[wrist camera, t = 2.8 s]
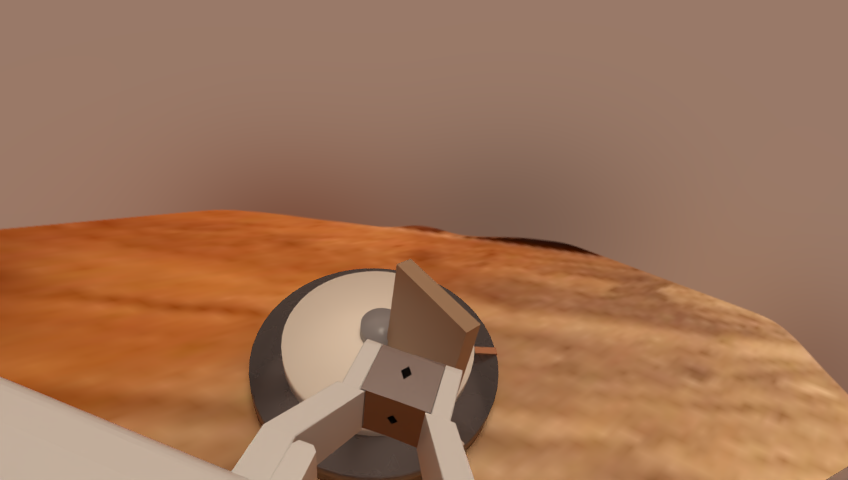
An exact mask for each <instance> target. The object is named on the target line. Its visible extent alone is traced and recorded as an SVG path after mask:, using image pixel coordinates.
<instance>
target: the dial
mask: <svg viewBox="0 0 848 480" xmlns="http://www.w3.org/2000/svg"><path fill="white" fill-rule="evenodd" d="M480 325H481V324H480V323H479V322H478V321H477V320H476V319H475V318H473V317H472V316H471V315H470V314H469V313H468V312H467V311H466V310H465V309H464V308H463V307H462V306H461V305H460V304H458V303H457V302H456V301H455V300H454V299H453V298H452V297H451V296H450V295H449V294H448V293H447V292H446V291H445V290H444V289H442V288H441V287H440V286H439V285H438V284H437V283H436V282H435V281H434V280H433V279H432V278H431V277H430V276H429V275H427V274H426V273H425V272H424V271H423V270H422V269H421V268H420V267H419V266H418V265H417V264H416V263H415V262H414V261H412V260H411V259H409V260H407V261H404V262H401V263H399V264H397V267H396V273H393V272H383V271H366V272H358V273H352V274H347V275H344V276H340V277H337V278H334V279H332V280H330V281H327V282H325V283H323V284H322V285H320V286H318V287H316V288H315V289H313V290H312V291H311V292H309V293H308V294H307V295H306V296H305V297H304V298H302V299H301V300H300V301H299V303H298V304H297V305H296V306H295V307H294V309H293V310H292V312H291V314H290V315H289V317H288V319H287V321H286V324H285V326H284V330H283V334H282V342H281V350H282V361H283V369H284V373H285V377H286V380H287V382H288V385H289V387H290V389H291V391H292V392H293V394H294V395H295V397H296V398H297V400H298V401H299V402H300V403H301V402H303V401H304V400H306V399H308V398H309V397H311V396H313V395H315V394H316V393H318V392H320V391H321V390H323V389H325V388H327V387H328V386H330V385H332V384H333V383H335V382H337V381H338V382H341V383H342V382H343V380H344V378H345V376H346V374H347V372H348V371H349V369H350V367H351V365H352V363H353V362H354V360H355V358H356V356H357V354H358V353H359V351H360V349H361V347H362V345H363V343H364V342H365V341H366V340H367V339H369V340H372V341H375V342H378V343H381V344H384V345H387V346H390V347H392V348H395V349H398V350H401V351H404V352H406V353H409V354H412V355H417V356H420V357H424V358H427V359H430V360H433V361H436V362H439V363H443V364H446V365H447V366H450V367H454V368H457V369H460V370H463V373H462V378H461V382H460V385H459V389H458V393H457V397H456V401H457V400H458V398H459V397H460V395H461V394H462V392H463V390H464V388H465V386H466V383H467V381H468V378H469V375H470V372H471V369H472V365H473V361H474V351H475V350H474V343H475V340H476V337H477V334H478V331H479V328H480ZM445 367H446V366H445ZM456 401H455V402H456ZM357 434H358V435H366V436H385V435H382V434H380V433H377V432H374V431H371V430H368V429H365V428H362V430H360V431H359V432H358V433H357Z"/></svg>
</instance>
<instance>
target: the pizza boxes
mask: <svg viewBox="0 0 848 480" xmlns="http://www.w3.org/2000/svg"><path fill="white" fill-rule="evenodd" d="M826 480H848V467H846V468H845V469H843V470H841V471H840V472H838V473H836V474H835V475H833V476H831V477H830V478H828V479H826Z"/></svg>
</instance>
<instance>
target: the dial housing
mask: <svg viewBox="0 0 848 480" xmlns="http://www.w3.org/2000/svg"><path fill="white" fill-rule="evenodd" d="M366 271H383V272H393V273H396V270H389V269H356V270H349V271H343V272H338V273H335V274H331V275H327V276H325V277H322V278H319V279H317V280H314V281H312V282H310V283H308V284H306V285H304V286H302V287H301V288H299V289H298V290H296V291H295V292H293V293H292V294H290V295H289V296H288V297H287V298H285V299H284V300H283V301H282V302H281V303H280V304H279V305H278V306H277V307H276V308H275V309H274V310H273V311H272V312H271V313H270V315H269V316H268V317H267V319H266V320H265V321H264V323H263V325H262V326H261V328H260V330H259V332H258V334H257V336H256V339H255V341H254V344H253V347H252V352H251V356H250V364H249V378H250V386H251V393H252V398H253V403H254V407H255V410H256V413H257V417H258V420H259V422H260V424H261V426H263V424H265V423H267V422H268V421H270V420H272V419H273V418H275V417H277V416H279V415H280V414H282V413H284V412H285V411H287V410H289V409H291V408H292V407H294V406H296V405H297V404H299V403H300V402H299V401H298V400H297V398H296V397H295V395H294V394H293V392H292V391H291V389H290V387H289V385H288V382H287V380H286V377H285V373H284V369H283V361H282V350H281V342H282V334H283V330H284V326H285V324H286V321H287V319H288V317H289V315H290V314H291V312H292V310H293V309H294V307H295V306H296V305H297V304H298V303H299V301H300V300H301V299H302V298H304V297H305V296H306V295H307V294H308V293H309V292H311V291H312V290H313V289H315V288H316V287H318V286H320V285H322V284H323V283H325V282H327V281H330V280H332V279H334V278H337V277H340V276H344V275H347V274H352V273H358V272H366ZM438 285H439V284H438ZM439 286H440V287H441V288H442V289H444V290H445V291H446V292H447V293H448V294H449V295H450V296H451V297H452V298H453V299H454V300H455V301H456V302H457V303H458V304H460V305H461V306H462V307H463V308H464V309H465V310H466V311H467V312H468V313H469V314H470V315H471V316H472V317H473V318H475V319H476V320H477V321H478V322H479V323H480V324H481V325H480V328H479V331H478V334H477V337H476V340H475V343H474V350H475V351H474V361H473V365H472V369H471V372H470V375H469V378H468V381H467V383H466V386H465V388H464V390H463V392H462V394H461V395H460V397H459V398H458V400H457V401H456V402H455V405H454V409H453V413H452V417H451V421H452V422H454V423H456V426H457V429H458V432H459V435H460V438H461V441H462V444H463V447H464V450H465V451H466V450H467V449H468V448H469V447H470V446H471V444H472V443H473V442H474V441H475V439H476V438H477V436H478V434H479V433H480V431H481V429H482V428H483V426H484V423H485V421H486V419H487V416H488V414H489V412H490V409H491V407H492V405H493V402H494V399H495V395H496V391H497V385H498V361H497V356H496V355H497V351H496V348H495V347H494V345H493V342H492V340H491V337H490V335H489V333H488V331H487V330H486V328H485V326H484V324H483V323H482V321H481V320H480V319H479V317H478V316H477V315H476V313H475V312H474V311H473V310H472V309H471V308H470V307H469V306H468V305H467V304H466V303H465V302H464V301H463V300H461V299H460V298H459V297H458V296H456V295H455V294H454V293H452V292H451V291H449V290H448V289H446V288H444V287H442V286H441V285H439ZM317 478H319V479H321V480H422V474H421V469H420V464H419V459H418V454H417V448H416V447H414V446H411V445H409V444H406V443H404V442H401V441H399V440H396V439H394V438H391V437H388V436H366V435H358V434H355V435H354V436H353V437H352V438H350V439H349V440H348V441H347V442H345V443H344V444H343V445H342V446H340V447H339V448H338V449H337V450H335V451H334V452H333V453H332V454H331V455H329V456H328V457H327V458H326V459H324V460H323V461H322V462H321V463H319V464H318V465H317Z"/></svg>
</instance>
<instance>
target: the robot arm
mask: <svg viewBox="0 0 848 480" xmlns="http://www.w3.org/2000/svg"><path fill="white" fill-rule="evenodd" d="M445 366H446V367H445ZM462 373H463V370H460V369H457V368H454V367H450V366H447V365H446V364H443V363H439V362H436V361H433V360H430V359H427V358H424V357H420V356H417V355H412V354H409V353H406V352H404V351H401V350H398V349H395V348H392V347H390V346H387V345H384V344H381V343H378V342H375V341H372V340H369V339H367V340H366V341H365V342H364V343H363V345H362V347H361V349H360V351H359V353H358V354H357V356H356V358H355V360H354V362H353V363H352V365H351V367H350V369H349V371H348V372H347V374H346V376H345V378H344V380H343V382H342V383H341V382H338V381H337V382H335V383H333V384H332V385H330V386H328V387H327V388H325V389H323V390H321V391H320V392H318V393H316V394H315V395H313V396H311V397H309V398H308V399H306V400H304V401H303V402H301V403H299V404H297V405H296V406H294V407H292V408H291V409H289V410H287V411H285V412H284V413H282V414H280V415H279V416H277V417H275V418H273V419H272V420H270V421H268V422H267V423H265V424H263V426H262V427H261V429H260V430H259V432H258V433H257V435H256V436H255V438H254V439H253V441H252V442H251V444H250V445H249V446H248V448H247V449H246V451H245V452H244V454H243V455H242V457H241V458H240V460H239V461H238V463H237V464H236V466H235V467H234V469H233V470H232V471H228V470H226V469H223V468H221V467H219V466H216V465H214V464H211V463H209V462H207V461H204V460H202V459H199V458H197V457H194V456H192V455H190V454H187V453H185V452H182V451H180V450H177V449H175V448H173V447H170V446H168V445H165V444H163V443H160V442H158V441H156V440H153V439H151V438H148V437H146V436H143V435H141V434H139V433H136V432H134V431H131V430H129V429H126V428H124V427H122V426H119V425H117V424H114V423H112V422H109V421H107V420H105V419H102V418H100V417H97V416H95V415H92V414H90V413H88V412H85V411H83V410H80V409H78V408H75V407H73V406H71V405H68V404H66V403H63V402H61V401H58V400H56V399H54V398H51V397H49V396H46V395H44V394H41V393H39V392H36V391H34V390H32V389H29V388H27V387H24V386H22V385H19V384H17V383H15V382H12V381H10V380H7V379H5V378H2V377H0V480H317V465H318V464H319V463H321V462H322V461H323V460H324V459H326V458H327V457H328V456H329V455H331V454H332V453H333V452H334V451H335V450H337V449H338V448H339V447H340V446H342V445H343V444H344V443H345V442H347V441H348V440H349V439H350V438H352V437H353V436H354V435H355V434H357V433H358V432H359V431H360V430H362V428H365V429H368V430H371V431H374V432H377V433H380V434H382V435H385V436H388V437H391V438H394V439H396V440H399V441H401V442H404V443H406V444H409V445H411V446H414V447H416V448H417V454H418V459H419V464H420V469H421V474H422V480H474V477H473V474H472V471H471V468H470V465H469V462H468V459H467V456H466V453H465V450H464V447H463V444H462V441H461V438H460V435H459V432H458V429H457V426H456V423H454V422H452V421H451V417H452V413H453V409H454V405H455V401H456V397H457V393H458V389H459V385H460V382H461V378H462Z"/></svg>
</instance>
